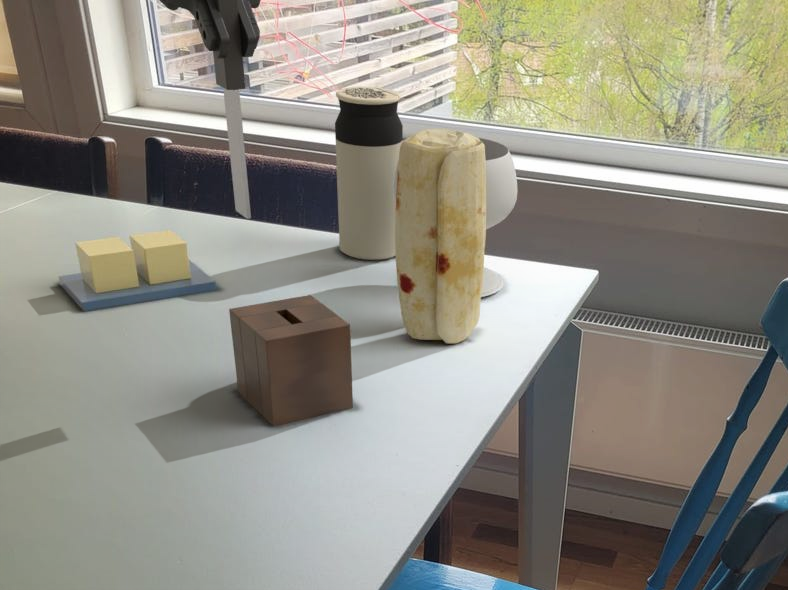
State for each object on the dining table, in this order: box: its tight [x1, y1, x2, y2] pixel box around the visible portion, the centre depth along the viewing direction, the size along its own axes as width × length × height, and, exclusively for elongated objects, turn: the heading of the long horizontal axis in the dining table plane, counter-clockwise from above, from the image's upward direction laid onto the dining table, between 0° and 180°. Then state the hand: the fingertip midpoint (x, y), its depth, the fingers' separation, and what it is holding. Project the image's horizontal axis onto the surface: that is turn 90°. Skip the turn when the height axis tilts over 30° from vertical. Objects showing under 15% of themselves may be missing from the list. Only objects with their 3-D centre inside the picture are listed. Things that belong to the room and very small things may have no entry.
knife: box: [212, 0, 252, 220], centre depth 82 cm, size 2×3×17 cm, turn 33°
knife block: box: [228, 294, 354, 427], centre depth 90 cm, size 8×8×8 cm
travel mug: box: [334, 86, 404, 261], centre depth 121 cm, size 8×8×18 cm
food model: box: [395, 128, 487, 345], centre depth 100 cm, size 10×7×20 cm
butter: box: [58, 229, 217, 312], centre depth 112 cm, size 15×9×5 cm, turn 123°
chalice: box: [394, 137, 519, 298], centre depth 114 cm, size 14×14×15 cm
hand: (237, 50), depth 78 cm, fingers closed on knife, 1 cm apart
